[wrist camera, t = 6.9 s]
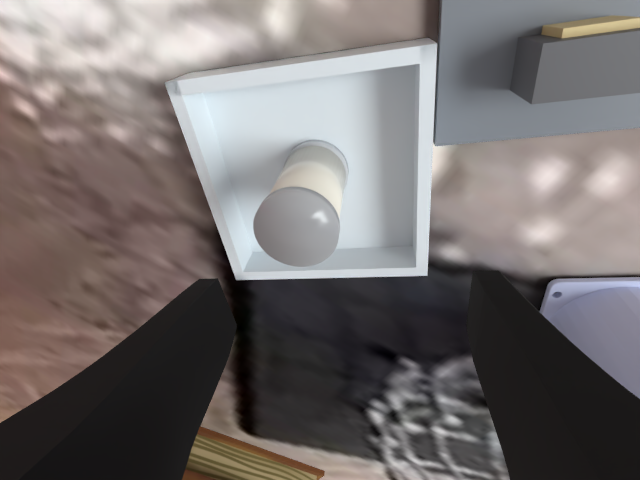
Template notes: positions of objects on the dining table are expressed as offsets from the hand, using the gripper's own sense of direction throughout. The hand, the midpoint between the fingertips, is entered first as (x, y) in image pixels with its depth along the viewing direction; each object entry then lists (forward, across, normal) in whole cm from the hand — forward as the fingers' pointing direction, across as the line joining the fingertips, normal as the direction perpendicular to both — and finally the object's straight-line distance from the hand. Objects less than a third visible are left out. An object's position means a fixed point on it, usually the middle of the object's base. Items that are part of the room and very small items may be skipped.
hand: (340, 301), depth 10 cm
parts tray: (+10, +2, 0) cm, 11 cm away
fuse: (+10, +2, 0) cm, 10 cm away
